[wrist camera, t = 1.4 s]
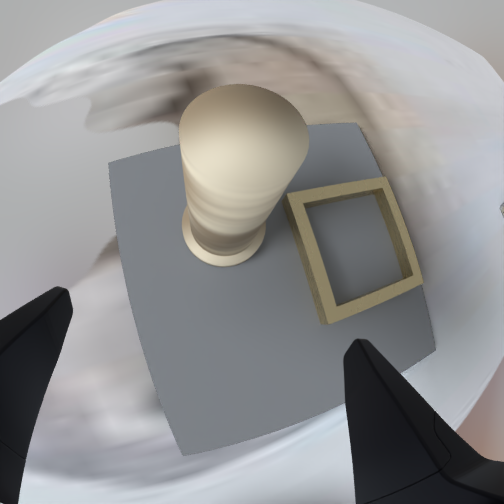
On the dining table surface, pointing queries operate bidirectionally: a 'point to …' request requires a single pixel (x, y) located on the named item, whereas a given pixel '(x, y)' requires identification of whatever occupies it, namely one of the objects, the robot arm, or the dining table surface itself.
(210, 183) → the disc
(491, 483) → the robot arm
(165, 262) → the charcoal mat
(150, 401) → the dining table surface
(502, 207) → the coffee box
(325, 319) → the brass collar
